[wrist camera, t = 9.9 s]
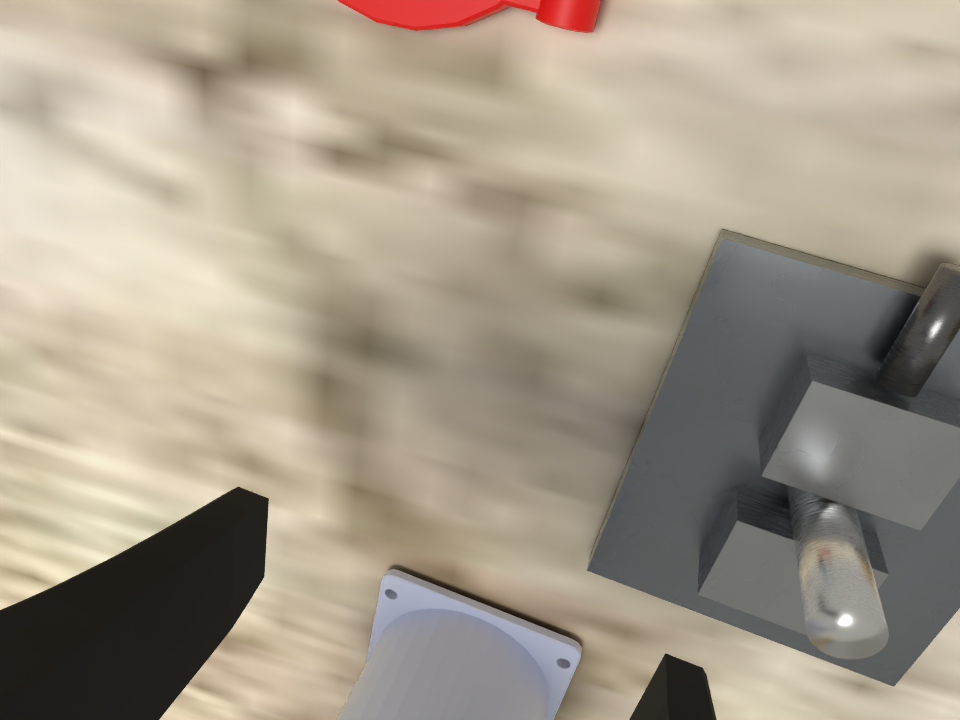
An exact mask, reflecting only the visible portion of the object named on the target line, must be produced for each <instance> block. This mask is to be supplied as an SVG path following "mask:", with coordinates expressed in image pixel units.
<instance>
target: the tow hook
mask: <svg viewBox="0 0 960 720" xmlns="http://www.w3.org/2000/svg"><path fill="white" fill-rule="evenodd" d="M338 1H339V2H341V3H343V4H344V5H346V6H348V7H350V8H352V9H353V10H355V11H357V12H359V13H361V14H363V15H364V16H366V17H368V18H370V19H372V20H373V21H375V22H378V23H383V24H388V25H392V26H397V27H402V28H407V29H411V30H416V31H417V30H430V29H439V28H449V27H458V26H467V25H469V24H472V23H474V22H476V21H478V20H481V19H483V18H485V17H488V16H490V15H492V14H495V13H497V12H499V11H501V10H504V9H506V8H508V7H509V6H512V7H516V8H520V9H524V10H528V11H532V12H536V13H537V14H536V19H537V20H539V21H540V22H542V23H545V24H548V25H551V26H555V27H559V28H563V29H567V30H572V31H577V32H584V33H588V32H593V30H594V27H595V23H596V19H597V15H598V11H599V7H600V3H601V0H338Z"/></svg>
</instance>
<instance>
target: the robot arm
mask: <svg viewBox="0 0 960 720" xmlns="http://www.w3.org/2000/svg"><path fill="white" fill-rule="evenodd" d="M268 501H269V499H268V498H266V497H263V496H261V495H258V494H255V493H253V492H250V491H248V490H245V489H243V488H240V487H237V488H235V489H233V490H231V491H229V492H227V493H226V494H224V495H222V496H220V497H219V498H217V499H215V500H214V501H212V502H210V503H208V504H207V505H205V506H203V507H202V508H200V509H198V510H197V511H195V512H193V513H191V514H190V515H188V516H186V517H184V518H183V519H181V520H179V521H178V522H176V523H174V524H172V525H171V526H169V527H167V528H165V529H164V530H162V531H160V532H158V533H156V534H155V535H153V536H151V537H149V538H147V539H145V540H144V541H142V542H140V543H138V544H136V545H134V546H133V547H131V548H129V549H127V550H125V551H123V552H122V553H120V554H118V555H116V556H114V557H112V558H110V559H108V560H106V561H104V562H102V563H100V564H98V565H96V566H94V567H92V568H90V569H88V570H86V571H84V572H82V573H80V574H78V575H76V576H74V577H72V578H70V579H68V580H66V581H64V582H62V583H60V584H58V585H56V586H54V587H52V588H50V589H47V590H45V591H43V592H41V593H39V594H36V595H34V596H32V597H30V598H27V599H25V600H23V601H21V602H18V603H16V604H14V605H11V606H9V607H7V608H4V609H2V610H0V720H159V719H160V718H161V717H162V715H163V714H164V713H165V712H166V710H167V709H168V708H169V707H170V705H171V704H172V703H173V702H174V700H175V699H176V698H177V697H178V695H179V694H180V693H181V692H182V690H183V689H184V688H185V687H186V685H187V684H188V683H189V682H190V680H191V679H192V678H193V677H194V675H195V674H196V673H197V672H198V670H199V669H200V668H201V667H202V666H203V664H204V663H205V662H206V660H207V659H208V658H209V657H210V655H211V654H212V653H213V652H214V650H215V649H216V648H217V647H218V645H219V644H220V643H221V642H222V640H223V639H224V638H225V636H226V635H227V634H228V633H229V631H230V630H231V629H232V627H233V626H234V624H235V623H236V621H237V620H238V618H239V617H240V615H241V613H242V612H243V610H244V609H245V607H246V606H247V604H248V603H249V601H250V599H251V598H252V596H253V594H254V593H255V591H256V589H257V588H258V586H259V585H260V583H261V581H262V580H263V578H264V572H265V554H266V537H267V519H268ZM394 591H395V592H394ZM581 653H582V648H581V645H580V644H579V643H578V642H577V641H575V640H573V639H571V638H569V637H566V636H564V635H561V634H558V633H556V632H553V631H551V630H548V629H546V628H543V627H541V626H538V625H536V624H533V623H531V622H528V621H526V620H523V619H520V618H518V617H515V616H513V615H510V614H508V613H505V612H503V611H500V610H498V609H495V608H493V607H490V606H488V605H485V604H483V603H480V602H477V601H475V600H472V599H470V598H467V597H465V596H462V595H460V594H457V593H455V592H452V591H450V590H447V589H445V588H442V587H440V586H437V585H434V584H432V583H429V582H427V581H424V580H422V579H419V578H417V577H414V576H412V575H409V574H407V573H404V572H402V571H399V570H395V569H390V570H388V571H386V573H385V574H384V576H383V578H382V580H381V585H380V590H379V596H378V601H377V606H376V611H375V617H374V622H373V627H372V633H371V638H370V643H369V648H368V654H367V659H366V664H365V667H364V669H363V670H362V672H361V674H360V676H359V678H358V680H357V682H356V684H355V686H354V688H353V689H352V691H351V693H350V695H349V697H348V699H347V701H346V703H345V705H344V707H343V708H342V710H341V712H340V714H339V716H338V718H337V720H554V718H555V715H556V713H557V711H558V709H559V706H560V704H561V702H562V700H563V697H564V695H565V693H566V690H567V688H568V686H569V684H570V681H571V679H572V677H573V675H574V672H575V670H576V668H577V665H578V663H579V661H580V658H581ZM562 658H563V659H562ZM564 659H566V660H564ZM630 720H716V716H715V711H714V707H713V703H712V698H711V694H710V689H709V685H708V680H707V675H706V673H705V671H704V670H703V668H701V667H699V666H696V665H694V664H691V663H689V662H686V661H683V660H681V659H678V658H676V657H673V656H671V655H668V654H665V655H664V657H663V659H662V661H661V662H660V664H659V666H658V668H657V670H656V672H655V674H654V675H653V677H652V679H651V681H650V683H649V685H648V686H647V688H646V690H645V692H644V694H643V696H642V698H641V699H640V701H639V703H638V705H637V707H636V709H635V710H634V712H633V714H632V716H631V718H630Z"/></svg>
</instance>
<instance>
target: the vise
mask: <svg viewBox="0 0 960 720" xmlns="http://www.w3.org/2000/svg"><path fill="white" fill-rule="evenodd" d="M587 571H590V572H592V573H595V574H598V575H600V576H603V577H606V578H608V579H611V580H614V581H616V582H619V583H622V584H624V585H627V586H629V587H632V588H635V589H637V590H640V591H643V592H645V593H648V594H651V595H653V596H656V597H659V598H661V599H664V600H666V601H669V602H672V603H674V604H677V605H680V606H682V607H685V608H688V609H690V610H693V611H696V612H698V613H701V614H703V615H706V616H709V617H711V618H714V619H717V620H719V621H722V622H725V623H727V624H730V625H733V626H735V627H738V628H740V629H743V630H746V631H748V632H751V633H754V634H756V635H759V636H762V637H764V638H767V639H770V640H772V641H775V642H777V643H780V644H783V645H785V646H788V647H791V648H793V649H796V650H799V651H801V652H804V653H807V654H809V655H812V656H814V657H817V658H820V659H822V660H825V661H828V662H830V663H833V664H836V665H838V666H841V667H844V668H846V669H849V670H852V671H854V672H857V673H859V674H862V675H865V676H867V677H870V678H873V679H875V680H878V681H881V682H883V683H886V684H889V685H891V686H895V685H896V684H897V682H898V681H899V680H900V679H901V678H902V676H903V675H904V674H905V673H906V672H907V670H908V669H909V668H910V667H911V666H912V664H913V663H914V662H915V661H916V660H917V659H918V657H919V656H920V655H921V654H922V653H923V651H924V650H925V649H926V648H927V647H928V645H929V644H930V643H931V642H932V641H933V639H934V638H935V637H936V636H937V635H938V633H939V632H940V631H941V630H942V629H943V627H944V626H945V625H946V624H947V623H948V621H949V620H950V619H951V618H952V617H953V615H954V614H955V613H956V612H957V611H958V609H959V608H960V266H958V265H954V264H950V263H941V264H940V266H939V267H938V269H937V271H936V273H935V274H934V276H933V278H932V279H931V281H930V283H929V284H928V286H927V288H923V287H919V286H916V285H913V284H909V283H906V282H902V281H899V280H895V279H892V278H888V277H885V276H882V275H878V274H875V273H871V272H868V271H864V270H861V269H858V268H854V267H851V266H847V265H844V264H840V263H837V262H834V261H830V260H827V259H823V258H820V257H816V256H813V255H810V254H806V253H803V252H799V251H796V250H792V249H789V248H785V247H782V246H779V245H775V244H772V243H768V242H765V241H761V240H758V239H755V238H751V237H748V236H744V235H741V234H737V233H734V232H731V231H727V230H724V229H722V230H721V232H720V235H719V237H718V240H717V242H716V245H715V247H714V250H713V252H712V255H711V257H710V260H709V262H708V265H707V267H706V270H705V272H704V275H703V277H702V280H701V282H700V285H699V287H698V289H697V292H696V294H695V297H694V299H693V302H692V304H691V307H690V309H689V312H688V314H687V317H686V319H685V322H684V324H683V327H682V329H681V332H680V334H679V337H678V339H677V342H676V344H675V347H674V349H673V351H672V354H671V356H670V359H669V361H668V364H667V366H666V369H665V371H664V374H663V376H662V379H661V381H660V384H659V386H658V389H657V391H656V394H655V396H654V399H653V401H652V404H651V406H650V409H649V411H648V414H647V416H646V418H645V421H644V423H643V426H642V428H641V431H640V433H639V436H638V438H637V441H636V443H635V446H634V448H633V451H632V453H631V456H630V458H629V461H628V463H627V466H626V468H625V471H624V473H623V476H622V478H621V480H620V483H619V485H618V488H617V490H616V493H615V495H614V498H613V500H612V503H611V505H610V508H609V510H608V513H607V515H606V518H605V520H604V523H603V525H602V528H601V530H600V533H599V535H598V538H597V540H596V543H595V545H594V547H593V550H592V552H591V555H590V560H589V564H588V569H587Z"/></svg>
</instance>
